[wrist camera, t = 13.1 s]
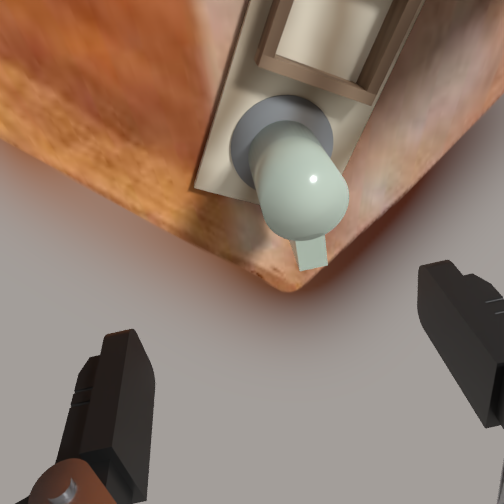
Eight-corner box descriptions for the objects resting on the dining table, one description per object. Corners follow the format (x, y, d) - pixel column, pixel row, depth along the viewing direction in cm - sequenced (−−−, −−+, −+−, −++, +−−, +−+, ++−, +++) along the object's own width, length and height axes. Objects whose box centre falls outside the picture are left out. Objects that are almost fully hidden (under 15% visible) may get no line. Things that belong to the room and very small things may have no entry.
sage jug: (241, 128, 42) (254, 172, 34) (315, 113, 42) (346, 153, 34) (259, 219, 48) (274, 276, 39) (324, 206, 48) (353, 259, 39)
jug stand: (194, 183, 46) (194, 201, 43) (278, -97, 34) (287, -102, 31) (317, 216, 50) (326, 235, 46) (432, -26, 38) (455, -23, 35)
